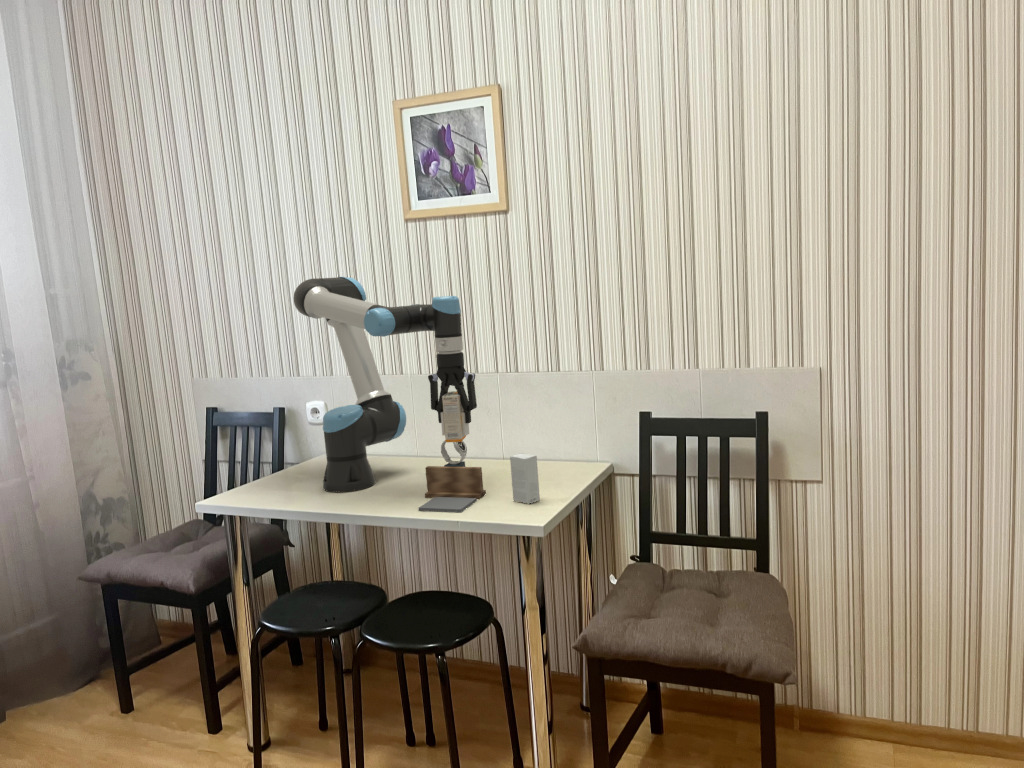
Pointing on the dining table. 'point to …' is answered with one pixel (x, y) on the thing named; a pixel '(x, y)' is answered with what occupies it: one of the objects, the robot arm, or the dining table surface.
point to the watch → (459, 448)
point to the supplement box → (452, 417)
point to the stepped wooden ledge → (454, 482)
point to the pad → (447, 504)
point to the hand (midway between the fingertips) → (455, 434)
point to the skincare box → (525, 478)
